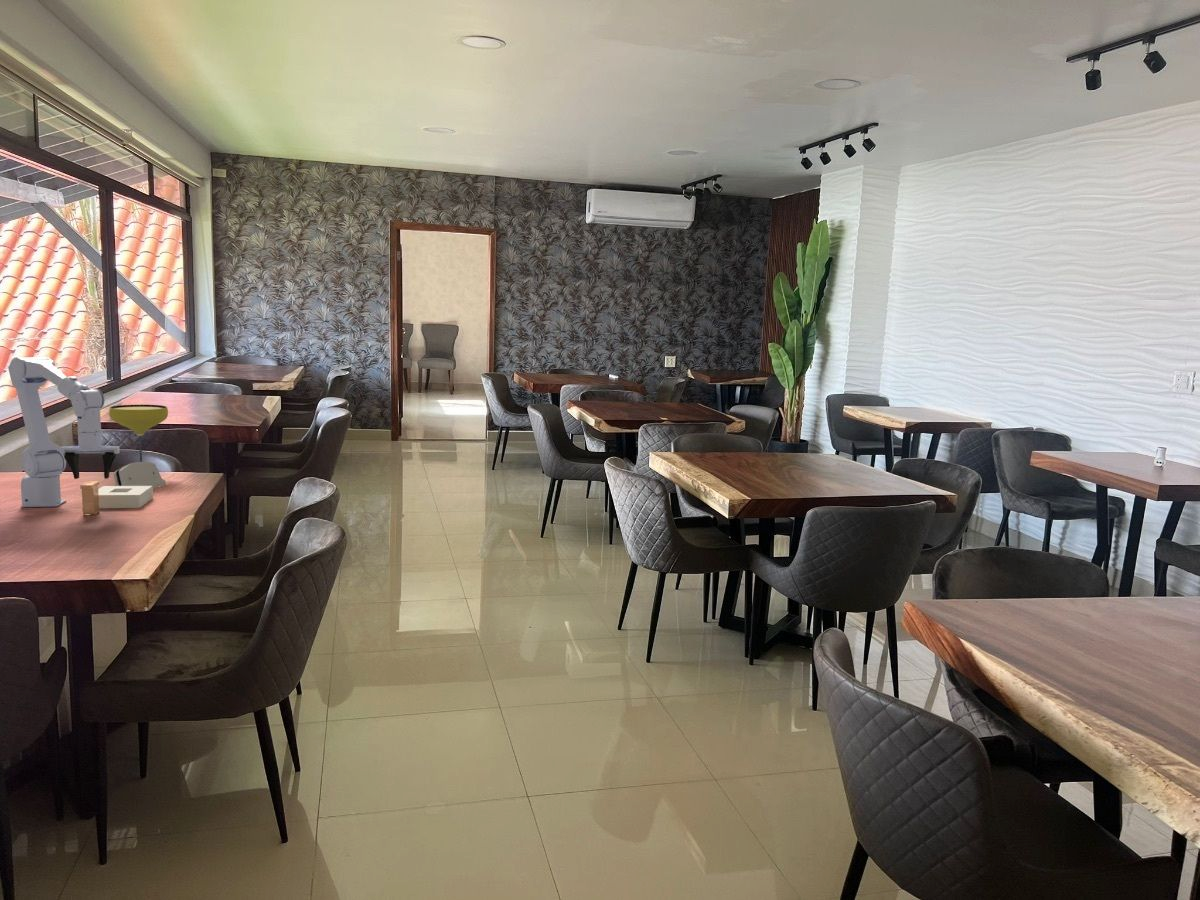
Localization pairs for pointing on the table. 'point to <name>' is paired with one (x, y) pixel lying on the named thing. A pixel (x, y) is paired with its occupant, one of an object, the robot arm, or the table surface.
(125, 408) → the cocktail glass
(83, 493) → the t-shaped block
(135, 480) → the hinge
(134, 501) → the well block
